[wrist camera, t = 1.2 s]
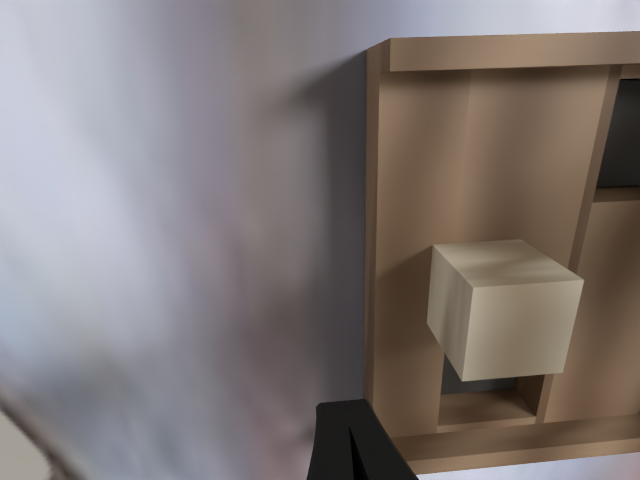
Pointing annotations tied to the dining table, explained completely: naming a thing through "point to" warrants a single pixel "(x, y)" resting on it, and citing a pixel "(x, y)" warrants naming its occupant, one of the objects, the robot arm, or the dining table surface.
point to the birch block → (501, 309)
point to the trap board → (504, 236)
